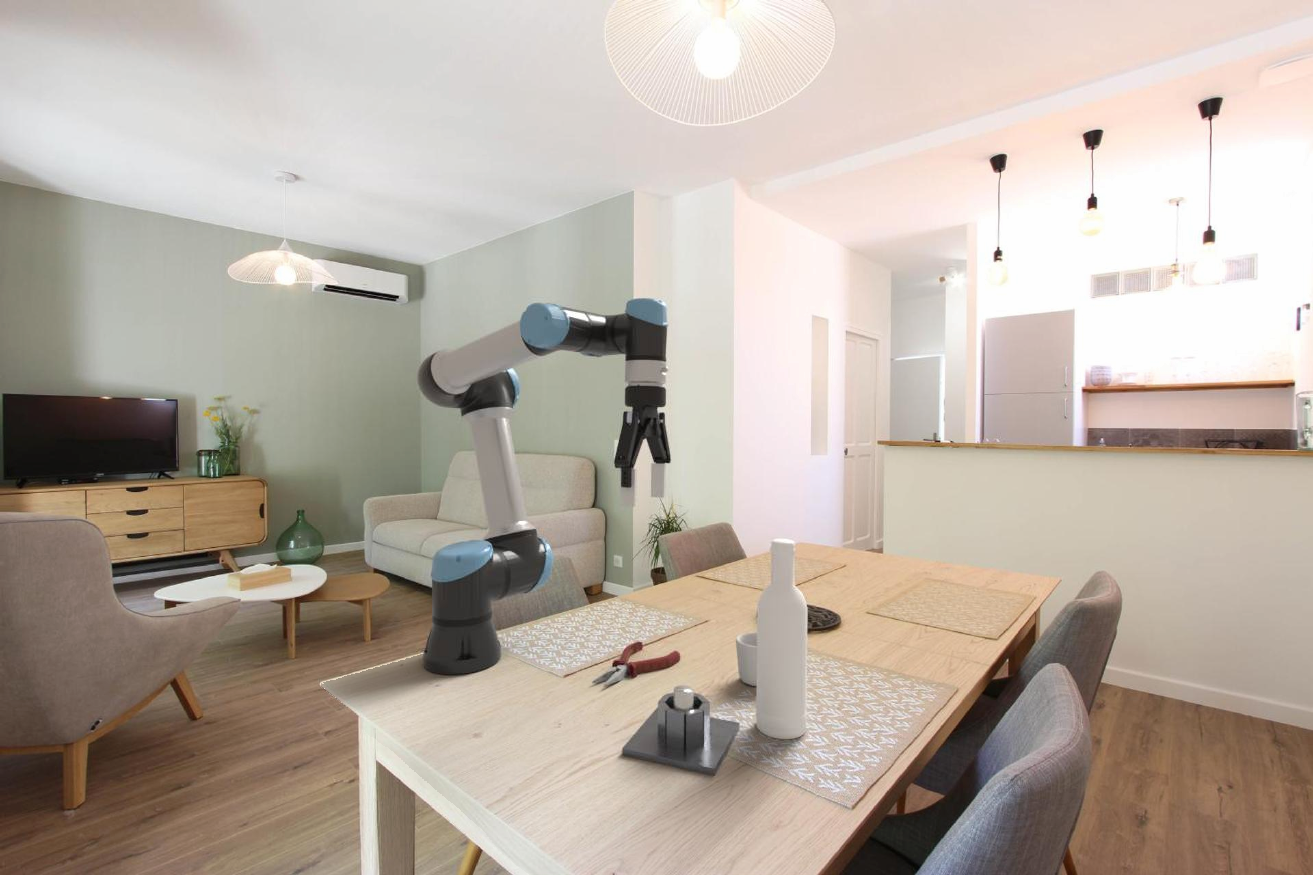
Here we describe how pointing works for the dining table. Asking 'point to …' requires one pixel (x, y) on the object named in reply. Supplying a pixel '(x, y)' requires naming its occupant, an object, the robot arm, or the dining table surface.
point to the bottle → (781, 649)
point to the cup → (747, 657)
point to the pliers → (636, 665)
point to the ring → (684, 722)
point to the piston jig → (694, 758)
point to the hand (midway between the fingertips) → (643, 501)
